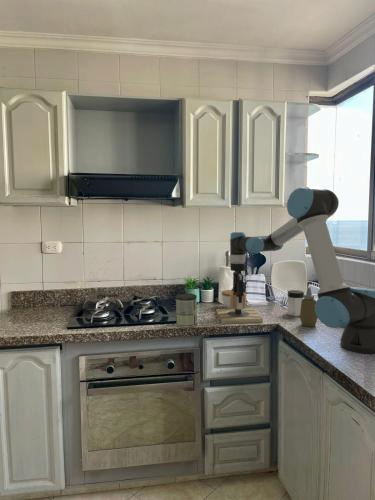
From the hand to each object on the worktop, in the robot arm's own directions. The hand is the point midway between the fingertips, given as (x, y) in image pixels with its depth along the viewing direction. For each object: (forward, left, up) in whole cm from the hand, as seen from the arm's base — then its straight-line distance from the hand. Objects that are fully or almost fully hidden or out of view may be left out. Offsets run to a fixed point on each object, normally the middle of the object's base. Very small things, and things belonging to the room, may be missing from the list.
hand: (238, 306), depth 184 cm
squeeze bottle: (-17, -30, -6) cm, 35 cm away
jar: (+3, -31, -6) cm, 32 cm away
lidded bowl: (+21, -1, -6) cm, 22 cm away
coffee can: (-9, +27, -6) cm, 29 cm away
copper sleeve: (0, 0, 0) cm, 0 cm away
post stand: (0, 0, -6) cm, 6 cm away
